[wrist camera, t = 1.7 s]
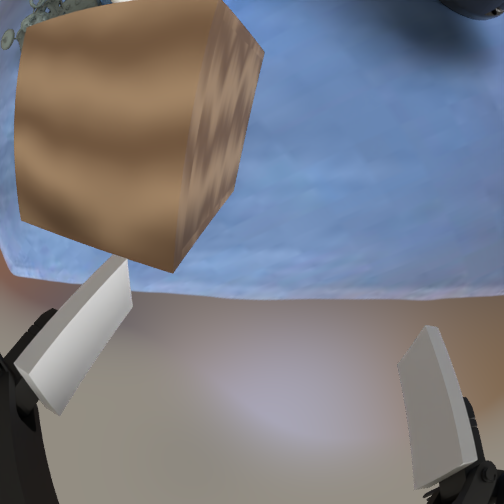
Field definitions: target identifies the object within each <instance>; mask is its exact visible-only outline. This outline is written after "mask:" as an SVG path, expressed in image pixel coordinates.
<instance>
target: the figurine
mask: <svg viewBox="0 0 504 504" xmlns="http://www.w3.org/2000/svg"><path fill="white" fill-rule="evenodd" d="M29 2H30V5H31V7H33V8H34V10H35V8H37V9H36V11H35V12H34V10H33V14H30V15H29V16H28V17H26V18H25V19H24V20H23V21H22V23H21V29H20V30H19V31H18V33H17V36H16V38H14V36H15V33H14V30H13V29H9V30H7V31H6V32H5V33H4V35H3V37H2V40H1V47H2V49H3V50H7V49H9V48H10V47H11V45H12V43H13V41H14V39H17V41H18V42H19V45H20V50H21V52H22V47H23V42H24V37H25V33H26V28H27V27H29V26H32V25H35V24H37V23H40V22H43V21H46V20H49V19H52V18H55V17H58V16H62V15H65V14H68V13H72V12H76V11H80V10H84V9H88V8H92V7H97V6H101V2H100V0H66V1H65V2H64V3H62V0H46V1H45V0H39V2H38V4H37V5H35V4H34V3H33V0H30V1H29ZM44 2H45V3H44ZM43 3H44V4H43ZM60 4H61V6H60V7H59V5H60ZM42 5H43V6H42ZM47 7H48V9H49V10H50V12H49V13H46V12H45V10H46V8H47Z"/></svg>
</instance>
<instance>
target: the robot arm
mask: <svg viewBox="0 0 504 504" xmlns="http://www.w3.org/2000/svg"><path fill="white" fill-rule="evenodd" d="M439 1H440V2H442V3H443V4H444V5H446V6H447V7H449V8H450V9H452V10H454V11H455V12H457V13H459V14H461V15H463V16H466V17H468V18H471V19H475V20H488V19H492V18H495V17H498V16H500V15H501V14H502V13H503V12H504V0H439ZM132 307H133V305H132V298H131V290H130V281H129V272H128V262H127V258H123V257H119V256H116V255H112V256H111V257H110V258H109V259H108V260H107V261H106V262H105V263H104V264H103V265H102V266H101V267H100V268H99V269H98V270H97V271H96V272H95V273H93V274H92V275H91V277H90V278H89V279H88V280H87V281H86V282H85V283H84V284H83V285H82V286H81V287H80V288H79V289H78V290H77V291H76V292H75V293H74V294H73V295H72V296H71V297H70V298H69V299H68V300H67V301H66V303H65V304H64V305H63V306H62V307H61V308H60V309H59V310H56V309H53V308H52V309H50V310H48V311H47V312H45V313H43V314H42V315H41V316H40V317H39V318H38V319H37V320H36V321H35V322H34V325H32V326H31V327H30V328H29V329H28V332H26V333H25V334H24V335H23V336H22V337H21V338H20V340H19V341H18V342H17V343H16V344H15V346H14V347H13V348H12V349H11V350H10V352H9V353H8V354H7V355H6V356H5V357H4V358H3V357H2V355H1V354H0V504H59V502H58V499H57V496H56V493H55V489H54V486H53V483H52V479H51V475H50V471H49V467H48V463H47V458H46V454H45V449H44V444H43V439H42V433H41V426H40V420H39V412H38V407H37V404H36V403H37V402H38V400H40V401H41V402H42V404H43V405H44V406H45V407H46V408H47V409H49V410H50V411H52V412H54V413H55V414H57V415H58V416H60V415H61V414H62V412H63V410H64V409H65V407H66V405H67V404H68V402H69V400H70V399H71V397H72V396H73V394H74V392H75V391H76V389H77V388H78V386H79V384H80V383H81V381H82V380H83V378H84V377H85V375H86V374H87V372H88V370H89V369H90V368H91V366H92V364H93V363H94V361H95V360H96V358H97V357H98V356H99V354H100V353H101V351H102V350H103V348H104V347H105V345H106V344H107V342H108V341H109V339H110V338H111V336H112V335H113V334H114V332H115V331H116V329H117V328H118V326H119V325H120V324H121V322H122V321H123V320H124V318H125V317H126V315H127V314H128V313H129V311H130V310H131V308H132ZM397 367H398V371H399V376H400V381H401V387H402V391H403V397H404V403H405V409H406V415H407V422H408V429H409V437H410V445H411V454H412V464H413V476H414V490H417V489H422V488H428V487H431V486H433V485H435V484H437V483H438V482H439V486H440V487H438V488H436V489H433V490H431V491H429V492H427V493H426V494H425V495H424V496H423V498H425V497H428V496H430V495H432V496H431V497H429V498H428V499H427V501H428V502H427V504H504V470H497V469H496V467H495V465H494V464H493V463H492V462H491V461H486V460H485V457H484V453H483V449H482V443H481V439H480V435H479V430H478V428H477V423H476V420H475V415H474V411H473V408H472V406H471V404H470V403H469V401H468V399H467V398H466V397H463V396H462V393H461V390H460V387H459V383H458V380H457V378H456V374H455V371H454V369H453V366H452V363H451V360H450V357H449V355H448V352H447V349H446V347H445V344H444V342H443V339H442V337H441V334H440V332H439V329H438V327H433V326H427V325H425V326H424V328H423V329H422V331H421V332H420V334H419V335H418V337H417V338H416V340H415V341H414V343H413V344H412V345H411V347H410V348H409V350H408V351H407V352H406V354H405V355H404V356H403V358H402V359H401V361H400V362H399V363H398V364H397Z"/></svg>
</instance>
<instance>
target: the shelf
mask: <svg viewBox="0 0 504 504" xmlns="http://www.w3.org/2000/svg"><path fill="white" fill-rule="evenodd" d="M264 53H265V52H264V51H263V49H262V48H261V47H260V45H259V44H258V43H257V42H256V40H255V39H254V38H253V36H252V35H251V34H250V33H249V31H248V30H247V29H246V28H245V26H244V25H243V24H242V23H241V22H240V20H239V19H238V18H237V17H236V16H235V14H234V13H233V12H232V11H231V10H230V9H229V7H228V6H227V5H226V4H225V3H224V2H223V1H222V0H132V1H125V2H118V3H113V4H107V5H102V6H97V7H92V8H88V9H84V10H80V11H76V12H72V13H68V14H65V15H62V16H58V17H55V18H52V19H49V20H46V21H43V22H40V23H37V24H35V25H32V26H29V27H27V28H26V33H25V37H24V42H23V47H22V52H21V58H20V64H19V71H18V79H17V88H16V100H15V117H14V155H15V173H16V185H17V194H18V203H19V210H20V217H21V221H24V222H27V223H29V224H32V225H34V226H37V227H39V228H42V229H45V230H47V231H50V232H53V233H55V234H58V235H61V236H64V237H66V238H69V239H72V240H75V241H77V242H80V243H83V244H86V245H89V246H91V247H94V248H97V249H100V250H103V251H106V252H109V253H112V254H115V255H118V256H120V257H123V258H127V259H129V260H132V261H136V262H139V263H142V264H145V265H148V266H151V267H154V268H157V269H160V270H164V271H167V272H170V273H174V271H175V270H176V268H177V267H178V266H179V264H180V263H181V261H182V260H183V258H184V257H185V256H186V254H187V253H188V251H189V250H190V249H191V247H192V246H193V245H194V243H195V242H196V240H197V239H198V238H199V236H200V235H201V234H202V232H203V231H204V229H205V228H206V227H207V225H208V224H209V223H210V221H211V220H212V219H213V217H214V216H215V215H216V213H217V212H218V211H219V209H220V208H221V207H222V205H223V204H224V203H225V201H226V200H227V199H228V198H229V196H230V195H231V194H232V192H233V191H234V187H235V182H236V177H237V172H238V167H239V162H240V158H241V153H242V148H243V144H244V139H245V135H246V130H247V125H248V121H249V117H250V112H251V108H252V103H253V99H254V95H255V90H256V86H257V82H258V78H259V73H260V69H261V65H262V61H263V57H264Z"/></svg>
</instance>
